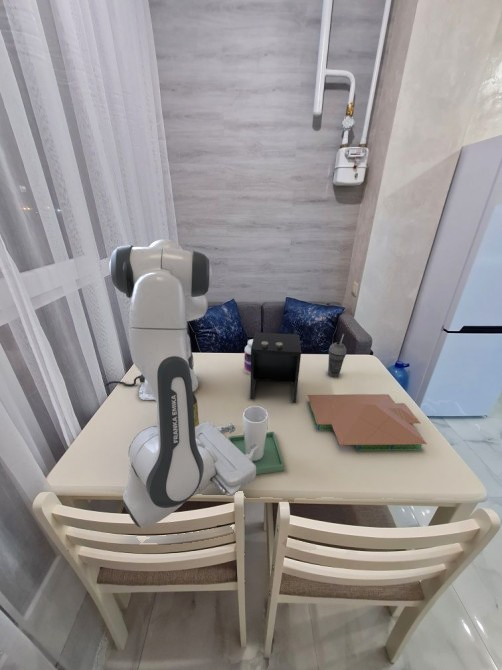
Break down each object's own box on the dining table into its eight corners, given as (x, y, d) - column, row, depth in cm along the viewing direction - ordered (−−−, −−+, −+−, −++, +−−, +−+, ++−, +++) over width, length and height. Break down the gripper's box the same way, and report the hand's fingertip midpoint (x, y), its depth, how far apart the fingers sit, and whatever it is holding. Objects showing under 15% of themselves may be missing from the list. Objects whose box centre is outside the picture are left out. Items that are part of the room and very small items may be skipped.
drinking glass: (246, 466, 72) (246, 425, 66) (240, 447, 78) (239, 407, 72) (269, 460, 74) (272, 420, 67) (261, 442, 80) (263, 403, 73)
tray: (232, 477, 70) (231, 472, 69) (228, 441, 81) (228, 436, 80) (283, 470, 72) (284, 465, 71) (273, 436, 83) (273, 431, 82)
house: (433, 451, 78) (441, 431, 75) (322, 452, 77) (326, 432, 74) (393, 401, 99) (399, 383, 95) (306, 401, 98) (308, 383, 94)
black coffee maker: (295, 403, 97) (301, 349, 87) (250, 399, 99) (250, 346, 89) (294, 381, 110) (299, 331, 100) (254, 378, 111) (255, 329, 102)
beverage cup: (328, 368, 119) (334, 328, 110) (344, 373, 115) (352, 332, 107) (322, 375, 114) (328, 334, 105) (338, 381, 110) (346, 338, 101)
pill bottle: (240, 369, 117) (240, 340, 111) (255, 364, 122) (255, 336, 115) (251, 378, 111) (252, 348, 105) (266, 372, 116) (267, 342, 110)
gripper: (226, 490, 53) (273, 452, 61) (177, 432, 66) (221, 407, 75) (227, 509, 55) (272, 470, 64) (180, 450, 69) (222, 424, 78)
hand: (244, 436), depth 69 cm, fingers open, 8 cm apart
